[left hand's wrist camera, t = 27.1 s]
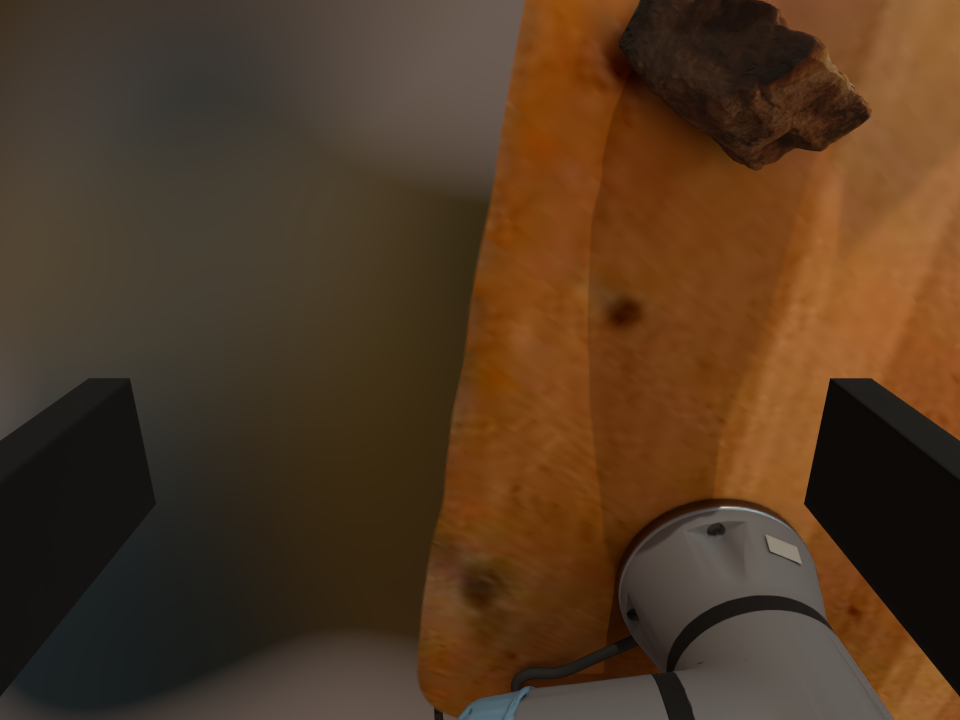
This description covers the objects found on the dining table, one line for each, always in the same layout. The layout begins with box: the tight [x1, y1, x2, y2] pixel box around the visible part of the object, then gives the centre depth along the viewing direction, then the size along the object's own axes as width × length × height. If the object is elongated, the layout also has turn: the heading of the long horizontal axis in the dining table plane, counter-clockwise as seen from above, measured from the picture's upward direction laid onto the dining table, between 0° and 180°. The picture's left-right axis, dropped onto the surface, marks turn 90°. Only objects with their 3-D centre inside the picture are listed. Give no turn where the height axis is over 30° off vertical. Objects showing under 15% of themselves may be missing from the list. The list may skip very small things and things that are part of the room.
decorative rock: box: [619, 0, 872, 171], centre depth 35 cm, size 12×6×11 cm, turn 52°
